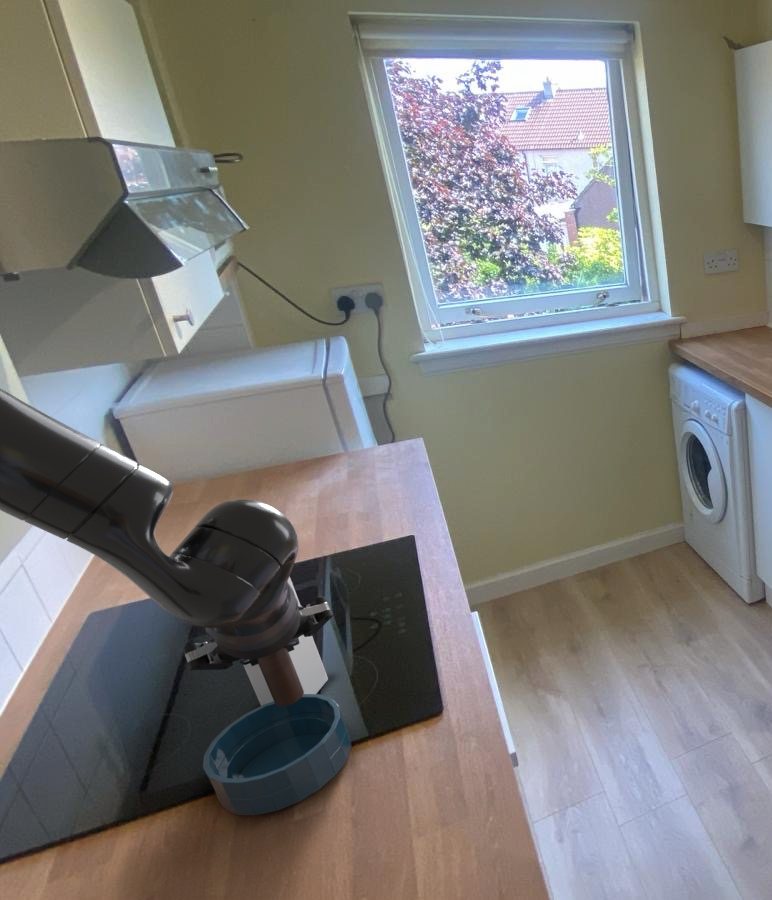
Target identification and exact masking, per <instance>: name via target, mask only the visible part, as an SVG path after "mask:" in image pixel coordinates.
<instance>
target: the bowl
mask: <svg viewBox="0 0 772 900" xmlns="http://www.w3.org/2000/svg"><path fill="white" fill-rule="evenodd" d="M351 751H352V738H351V734H350V732H349V729H348V727H347V724H346V721H345V718H344V716H343V713H342V710H341V708H340V706H339V704H338V703H337V702H336V701H335V700H334V699H333V698H332V697H329V696H326V695H323V694H320V693H317V694H303V696H302V697H301V698H300V699H299V700H298V701H296V702H295V703H293V704H290V705H287V706H277V705H276V704H275V703H274V701H273V702H270V703H267V704H264V705H262V706H261V705H260V706H258V707H256V708H255V709H252V710H251V711H248V712H246V713H244V714H243V715H241V716H240V717H239V718H237V719H236V720H234V721H233V722H231V723H230V724H229V725H227V726H226V727H225V728H224V729H223V730H222V731H221V732H219V733H218V735H217V736H216V737H215V738H214V739H212V741H211V743H210V744H209V746H208V748H207V750H206V751H205V753H204V755H203V763H202V769H203V771H204V773H205V776H206V778H207V779H208V781H209V783H210V785H211V787H212V790H213V792H214V794H215V795H216V797H217V799H218V801H219V803H220V804H221V806H222V807H223V809H224V810H226V811H228V812H230V813H231V814H235V815H238V816H259V815H263V814H264V815H265V814H268V813H269V814H270V813H273V812H278V811H281V810H282V809H285V808H287V807H290V806H293V805H295V804H297V803H299V802H301V801H303V800H305V799H306V798H308V797H310V796H311V795H313V794H314V793H316V792H318V791H319V790H320V789H321V788H323V787H324V786H325V785H326V784H328V783H329V782H330V781H331V780H332V779H333V778H335V776H336V775H337V774H338V773H339V771H340V770H341V769H342V767H343V766H344V765H345V764H346V762H347V761H348V759H349V756H350V753H351Z"/></svg>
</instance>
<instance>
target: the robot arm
mask: <svg viewBox="0 0 772 900" xmlns="http://www.w3.org/2000/svg"><path fill="white" fill-rule="evenodd" d="M173 494H174V487H173V484H172V483H171V482H170V481H169V480H168V479H167V478H166V477H164V476H163V475H161V474H160V473H158V472H156V471H154V470H153V469H151V468H148V467H147V466H145V465H144V464H139V462H138V461H135V460H133V459H132V458H130V457H128V456H126V455H124V454H122V453H121V452H119V451H117V450H116V449H113V448H112V447H110V446H107V445H105V444H104V443H101V442H100V441H98V440H96V439H94V438H92V437H90V436H88V435H86V434H84V433H82V432H80V431H78V430H76V429H75V428H73V427H71V426H69V425H67V424H66V423H63V422H61V421H60V420H57V419H56V418H54V417H52V416H50V415H49V414H46V413H45V412H43V411H41V410H39V409H37V408H35V407H34V406H32V405H30V404H28V403H26V402H25V401H23V400H21V399H20V398H18V397H16V396H14V395H13V394H11V393H9V392H7V391H6V390H4V389H3V388H1V387H0V511H2V512H3V513H5V514H7V515H9V516H11V517H13V518H16V519H18V520H20V521H24V523H27V524H29V525H32V526H34V527H36V528H38V529H39V530H42V531H44V532H47V533H49V534H51V535H53V536H55V537H57V538H60V539H62V540H66V541H67V542H68V543H71V544H73V545H75V546H77V547H79V548H81V549H83V550H85V551H86V552H88V553H90V554H92V555H93V556H95V557H96V558H98V559H100V560H102V561H103V562H105V563H106V564H107V565H109V566H111V567H112V568H113V569H115V570H116V571H118V572H119V573H120V574H121V575H122V576H124V577H125V578H127V579H129V580H130V581H131V582H132V583H133V584H134V585H135V586H136V587H138V588H139V589H140V591H142V592H143V593H144V594H145V595H147V596H148V597H149V598H150V599H151V600H152V601H154V602H155V603H156V604H157V605H158V606H159V607H160V608H161V609H162V610H164V611H165V612H167V613H168V614H169V615H171V616H172V617H173V618H175V619H177V620H178V621H180V622H183V623H185V624H187V625H190V626H193V627H197V628H204V629H205V633H206V634H207V636H208V637H209V643H208V641H204V642H202V643H197V642H196V643H189V644H187V645H186V646H184V647H183V648H182V650H183V653H184V657H185V659H186V662H187V664H188V667H189V670H190V671H221V670H227V669H229V668H231V667H233V665H234V663H235V662H237V661H238V662H239V664H242V666H243V665H247V664H251V665H252V666H254V665H257V664H258V662H257V659H258V658H263V657H266V656H269V655H272V654H274V653H276V652H278V651H279V650H281V649H282V648H284V647H285V646H286V649H287V650H288V652H290V651H293V650H295V649H294V647H293V646H296V645H298V644H299V643H300V642H299V639H298V638H299V637H300V636H302V635H304V637H310V636H312V637H313V636H314V635H315V634H317V633H318V631H319V630H321V629H322V627H324V626H325V625H326V624H327V623H328V622H329V621H330V620H331V619H332V618H333V617H334V614H333V612H332V610H331V607H330V604H329V602H328V599H327V597H326V596H319V597H317V598H316V599H314V600H313V601H312V602H311V603H308V604H305V605H306V606H305V607H304V606H302V605H301V604H300V605H298V600H299V599H298V600H297V598H295V594H294V592H293V590H292V588H291V586H290V585H289V583H288V582H287V581H288V579H289V576H291V574H292V572H293V568H294V565H295V563H296V559H297V557H298V553H299V537H298V534H297V531H296V529H295V526H294V525H293V524H292V522H291V520H290V519H288V517H287V516H285V514H283V513H282V512H281V511H280V510H279V509H277V508H275V507H274V506H272V505H270V504H267V503H266V502H263V501H259V500H256V499H255V500H254V499H248V498H240V499H230V500H227V501H223V502H221V503H219V504H216V505H215V506H213V507H211V509H209V511H207V512H206V513H205V514H204V515H203V516H202V517H201V518H200V520H199V521H198V522H197V523H196V524H195V525H194V527H193V528H192V529H191V530H190V531H189V532H188V533H187V535H186V536H185V537H184V538H183V540H182V541H181V542H180V543H179V544H178V545H177V546H176V547H175V549H174V550H173V551H172V552H171V554H170V555H168V554H167V553H165V552H164V551H163V550H162V548H161V547H160V545H159V543H158V540H157V538H156V530H157V527H158V524H159V523H160V520H161V519H162V516H163V515H164V513H165V512H166V510H167V508H168V505H169V504H170V502H171V499H172V497H173Z"/></svg>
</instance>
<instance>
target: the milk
mask: <svg viewBox="0 0 772 900" xmlns="http://www.w3.org/2000/svg"><path fill="white" fill-rule="evenodd" d="M290 576H291V575H290ZM290 576H289V579H288V581H287V582H288V583H289V585H290V586H291V588H292V590H293V592H294V594H295V598H297V600H298V605H301V602H300V599H299V598H298V595H297V592H296V590H295V587H294V583H293V581H292V579H291V577H290ZM298 639H299V642H300V643H299V644H298V645H296V646H293V647H294V649H295V650H293V651H290V652H289V655H290V658H291V660H292V663H293V665H294V668H295V670H296V673H297V675H298V678H299V680H300V683H301V685H302V688H303V691H304V694H318V693H319V691H320V690H321V689H322V687H324V685H325V684H326V683H327V681H329V677H328V675H327V672H326V669H325V666H324V664H323V661H322V658H321V655H320V654H319V650H318V647H317V645H316V643H315V642H316V641H315V640H314V637H313V635H312V636H310V637H304V635H302V636H300V637H299V638H298ZM242 666H243V668H244V670H245V672H246V675H247V677H248V679H249V681H250V684H251V686H252V688H253V691H254V693H255V695H256V698H257V700H258V702H259V705H260V706H262V705H264V704H267V703H270V702H273V701H274V700H273V698H272V695H271V693H270V691H269V688H268V686H267V683H266V681H265V679H264V676H263V674H262V671H261V669H260V667H259V664H257V665H254V666H252V665H251V664H247V665H243V664H242Z"/></svg>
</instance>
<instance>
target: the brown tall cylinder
mask: <svg viewBox="0 0 772 900" xmlns="http://www.w3.org/2000/svg"><path fill="white" fill-rule="evenodd" d="M257 662H258V664H259V667H260V669H261V671H262V674H263V676H264V679H265V681H266V683H267V686H268V688H269V691H270V693H271V695H272V698H273V700H274V703H275V704H276V705H277V706H287V705H290V704H293V703H295V702H296V701H298V700H299V699H300V698H301V697H302V696H303V694H304V691H303V688H302V685H301V683H300V680H299V678H298V675H297V673H296V670H295V668H294V665H293V663H292V660H291V658H290V655H289V652H288V650H287V649H286V646H285V647H284V648H282V649H281V650H279V651H278V652H276V653H274V654H272V655H269V656H266V657H263V658H258V659H257Z"/></svg>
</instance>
